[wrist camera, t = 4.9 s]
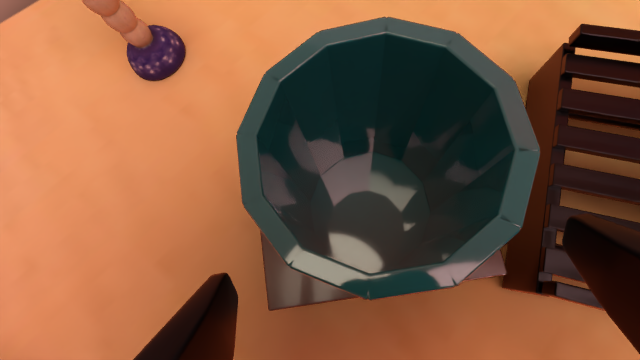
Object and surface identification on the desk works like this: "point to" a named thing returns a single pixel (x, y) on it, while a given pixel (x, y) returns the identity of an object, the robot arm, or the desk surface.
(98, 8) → the toy lamp
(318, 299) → the shelf
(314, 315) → the desk surface
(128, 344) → the desk surface
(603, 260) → the robot arm
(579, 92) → the rack
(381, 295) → the cup
